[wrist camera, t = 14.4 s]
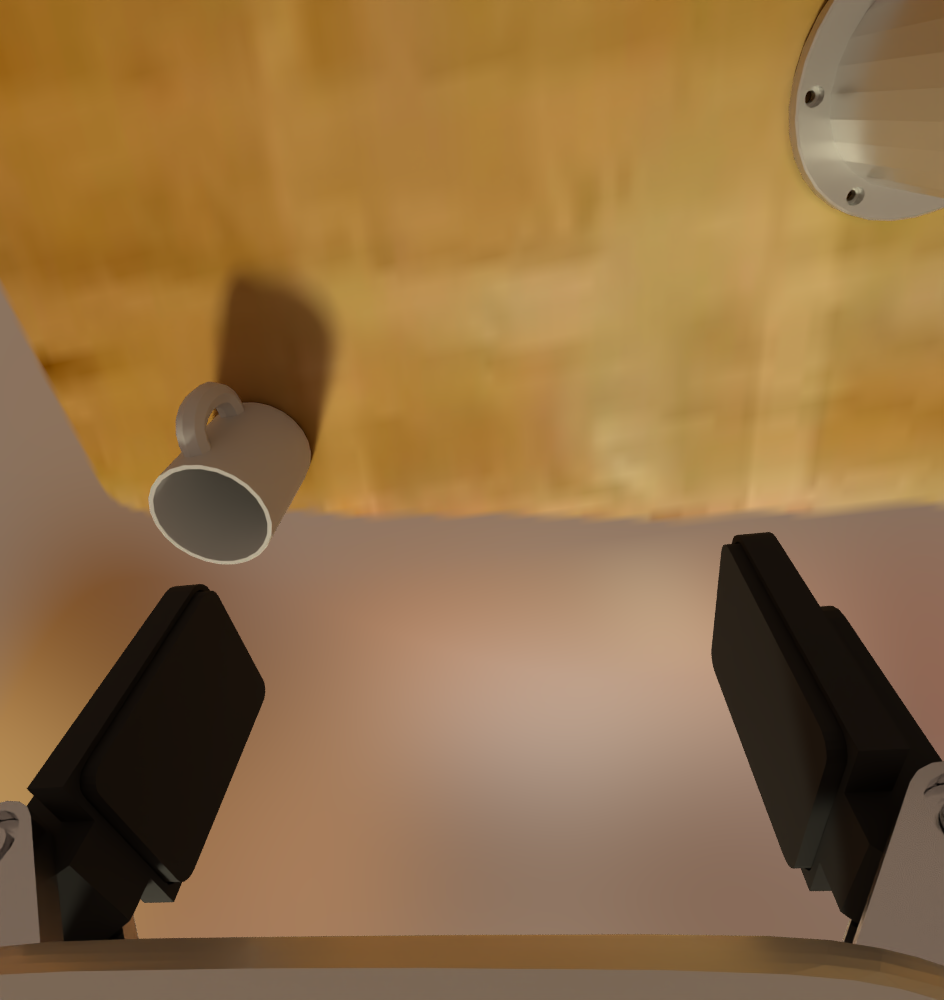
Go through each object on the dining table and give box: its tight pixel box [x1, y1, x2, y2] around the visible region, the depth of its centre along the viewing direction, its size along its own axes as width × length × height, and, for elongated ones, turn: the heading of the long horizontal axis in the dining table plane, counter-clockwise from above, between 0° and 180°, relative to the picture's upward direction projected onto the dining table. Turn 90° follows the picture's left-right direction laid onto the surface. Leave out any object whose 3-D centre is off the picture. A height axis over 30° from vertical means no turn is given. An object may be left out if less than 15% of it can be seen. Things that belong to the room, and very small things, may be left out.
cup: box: [149, 382, 311, 564], centre depth 37 cm, size 7×10×9 cm
